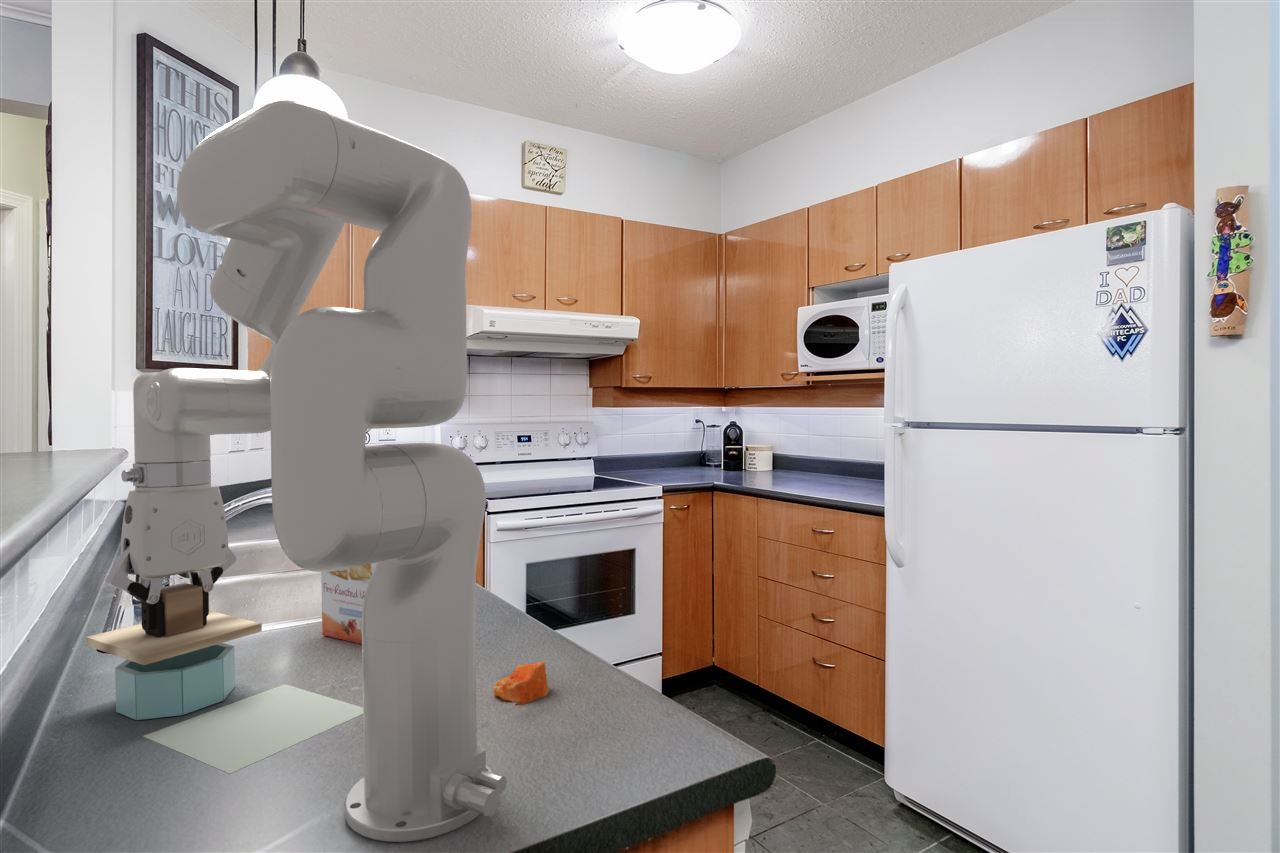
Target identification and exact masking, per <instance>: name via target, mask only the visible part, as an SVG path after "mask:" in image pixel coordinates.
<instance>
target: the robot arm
mask: <svg viewBox="0 0 1280 853" xmlns="http://www.w3.org/2000/svg"><path fill="white" fill-rule="evenodd" d="M470 195H471V194H470V191H469V189H468V185H467V183H466V181H465V179H464V178H463V176H462V173H460V172H459V170H458V169H457V168H456V167H455V166H453V164H451V163H450V162H449V161H447V160H445V159H444V158H442V157H440V156H438V155H437V154H434V153H432V152H429V151H427V150H425V149H423V148H420V147H419V146H416V145H414V144H412V143H408V142H407V141H404V140H401V139H399V138H396V137H394V136H392V135H389V134H387V133H384V132H382V131H379V130H377V129H374V128H372V127H369V126H366V125H363V124H360V123H358V122H356V121H354V120H351V119H348V118H346V117H344V116H341V115H338V114H337V113H334V112H331V111H329V110H326V109H324V108H322V107H319V106H317V105H313V104H311V103H307V102H305V101H301V100H298V99H295V98H294V99H292V98H277V99H271V100H268V101H266V102H264V103H263V102H262V103H261V104H258V105H257V106H255V107H254V108H252V109H250V110H248V111H247V112H245V113H243V114H241V115H239V116H238V117H236V118H235V119H233V120H231V121H230V122H227V123H225V124H224V125H222V126H220V127H219V128H217V129H215V130H214V131H213V132H211V133H210V134H209V135H207V136H206V137H205V138H204V139H202V140H201V141H200V142H199V143H198V144H197V145H196V147H194V149H192V151H191V152H190V154H189V155H188V156H187V158H186V160H185V162H184V164H183V166H182V168H181V171H180V174H179V176H178V181H177V187H176V198H177V204H178V205H177V206H178V209H179V211H180V214H181V216H182V217H183V219H184V221H186V223H187V224H189V225H190V226H191V227H193V229H195V230H197V231H199V232H202V233H204V234H209V235H213V236H217V237H223V238H226V239H229V241H228V244H227V245H226V248H225V251H224V252H223V254H222V257H221V259H220V261H219V263H218V264H219V265H218V266H217V268H216V271H215V273H214V275H213V276H212V279H211V281H210V286H209V292H210V294H211V298H212V300H213V302H214V303H215V304H216V305H217V307H218V308H219V309H220V310H221V311H222V312H223V313H225V314H226V315H227V316H228V317H230V318H231V319H232V320H233V321H235V322H237V323H238V324H240V325H241V326H244V327H245V328H247V329H249V330H251V331H253V332H254V333H256V334H258V335H260V336H262V337H264V338H266V339H268V340H269V341H271V346H270V349H269V351H268V353H267V355H266V356H265V357H266V358H265V359H264V361H263V363H262V365H261V366H260V367H259V369H258V370H245V369H244V370H242V369H225V368H224V369H222V368H221V369H220V368H196V367H174V368H173V367H172V368H168V369H164V370H162V371H160V372H146V373H143V374H139V375H138V376H137V377H136V378H135V380H134V382H133V388H132V390H133V392H132V393H133V396H132V397H133V440H134V441H133V442H134V443H133V444H134V447H133V448H134V463H132V468H130V469H124V470H122V471H121V480H122V481H123V482H124V483H128V482H130V483H132V487H133V486H134V489H133V490H129V492H128V495H127V499H126V503H125V507H124V513H123V518H122V526H121V536H120V557H119V558H118V559H117V562H116V563H115V565H114V566H113V567H112V569H111V570H110V571H109V574H108V575H107V576H106V577H105V581H104V582H105V584H106V585H108V586H110V587H114V588H117V589H119V590H122V591H125V592H126V593H128V594H129V595H130V596H132V597H134V598H135V599H136V601H139V602H140V608H141V609H140V610H141V624H142V628H143V630H145V633H146V634H148V635H151V636H155V637H162V636H164V634H165V619H164V603H163V602H160V592H161V587H163V582H164V581H163V580H164V578H166V577H171V576H176V575H181V574H187V573H188V578H189V584H192V585H197V586H201V587H202V592H203V626H204V625H206V624H207V616H208V614H209V611H210V596H209V595H210V594H209V593H210V592H211V591H213V589H214V585H215V583H216V582H217V581H218V580H219V579H220V577H221V576H222V575H223V574H224V572H225V571H227V570H228V569H229V568H230V567H232V566H233V565H234V564H235V563H236V562H237V557H236V556H235V554H234V553H233V551H232V550H231V549H230V548H229V535H228V526H227V516H226V511H225V506H224V501H223V498H222V493H221V489H220V487H219V485H217V484H212V469H211V468H212V466H211V465H212V464H211V463H212V462H211V455H212V454H211V436H215V435H242V434H243V435H246V434H262V433H263V434H265V433H267V432H270V460H271V461H270V462H271V463H270V464H271V465H270V466H271V469H270V470H271V478H270V479H271V502H272V503H271V504H272V505H271V506H272V507H271V508H272V518H273V523H274V524H273V525H274V530H275V533H276V536H277V540H278V543H279V545H280V547H281V550H283V552H284V554H285V556H286V557H287V558H288V559H289V560H290V561H291V562H292V563H293V564H295V565H296V566H298V567H299V568H301V569H303V570H306V571H310V572H313V573H314V572H316V573H321V572H332V571H338V570H344V569H349V568H353V567H358V566H362V565H366V564H371V563H375V562H378V563H377V565H376V567H375V569H374V571H373V574H372V576H371V578H370V581H369V584H368V586H367V589H366V593H365V597H364V602H363V609H362V644H361V653H362V654H361V657H362V658H361V659H362V660H361V661H362V662H361V666H362V668H361V669H362V674H361V675H362V707H363V714H362V721H363V722H362V723H363V724H362V725H363V731H362V732H363V733H362V734H363V736H362V738H363V777H362V778H361V779H359V780H357V782H356V783H355V784H354V785H353V786H352V787H351V789H349V792H348V793H347V795H346V797H345V801H344V818H345V820H346V822H347V825H348V826H349V827H350V828H351V829H352V831H354V832H356V833H357V834H359V835H361V836H363V837H365V838H368V839H371V840H374V841H381V842H390V843H391V842H396V843H397V842H398V843H403V842H414V841H419V840H420V841H421V840H425V839H430V838H435V837H437V836H440V835H444V834H448V833H450V832H452V831H454V830H456V829H457V830H458V829H459V828H462V827H463V826H465V825H466V824H468V823H470V822H472V821H473V820H475V819H476V818H477V817H478V816H479V815H483V816H484V817H485V816H486V817H491V816H493V815H494V814H495V813H496V811H497V810H498V808H499V805H500V800H501V796H500V794H502V793H503V792H504V791H505V790H506V787H507V783H508V782H507V777H506V776H505V775H501V774H498V773H496V772H494V771H493V770H492V768H490V766H489V765H488V764H487V762H486V761H487V760H486V757H487V756H486V755H487V754H486V751H487V749H486V748H483V747H481V746H477V744H478V743H477V739H478V738H477V736H478V735H477V732H478V730H477V673H476V672H477V668H476V665H477V663H476V660H477V659H476V658H477V656H476V653H477V652H476V619H477V618H476V617H477V616H476V615H477V614H476V584H477V583H476V582H477V580H476V579H477V578H476V577H477V564H478V553H479V547H480V546H479V545H480V541H481V535H482V531H483V525H484V521H485V520H484V519H485V513H486V501H487V500H486V499H487V498H486V497H487V496H486V495H487V493H486V487H485V481H484V477H483V476H482V473H481V470H480V469H479V467H478V465H477V464H476V463H475V462H474V460H473V459H472V458H471V457H470V456H469V455H467V454H466V453H465V452H463V451H462V450H460V449H458V448H456V447H454V446H450V445H446V444H442V443H435V442H409V443H407V442H406V443H389V444H387V443H386V444H379V445H378V444H377V445H366V439H367V429H368V430H370V429H373V430H374V429H378V430H379V429H404V428H405V429H406V428H422V427H423V428H424V427H429V426H437V425H440V424H443V423H447V422H448V421H450V420H452V419H453V418H454V417H455V416H457V414H459V411H460V410H461V409H462V407H463V404H464V401H465V399H466V398H465V397H466V394H467V393H466V390H467V381H468V380H467V378H468V356H467V355H468V354H467V353H468V350H467V349H468V348H467V347H468V346H467V345H468V344H467V343H468V342H467V338H468V337H467V329H468V328H467V292H466V291H467V290H466V289H467V288H466V274H467V272H466V269H467V268H466V266H467V258H468V250H469V244H470V236H471V229H472V216H473V215H472V200H471V196H470ZM345 224H349V225H353V226H354V225H355V226H358V227H361V228H362V227H363V228H364V229H365V228H366V229H369V230H374V231H378V232H380V234H379V235H378V237H377V238H376V239H375V241H374V243H373V244H372V245H371V248H370V249H369V252H368V253H367V257H366V259H365V262H364V265H363V277H362V278H363V310H361V309H357V308H348V307H341V306H320V307H315V308H311V309H308V310H305V311H303V312H302V313H300V312H301V310H302V308H303V307H304V304H305V303H306V301H307V299H308V297H309V294H311V291H312V289H313V288H314V286H315V284H316V282H317V280H318V278H319V277H320V276H319V275H320V273H321V271H323V269H324V266H325V264H326V263H327V261H328V259H329V257H330V255H331V252H332V251H333V249H334V247H335V245H336V243H337V241H338V240H339V238H340V235H341V233H342V231H343V229H344V226H345ZM129 575H130V576H133V575H134V576H135V575H139V577H138V581H134V580H132V579H130V578H129Z"/></svg>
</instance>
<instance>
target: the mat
mask: <svg viewBox="0 0 1280 853" xmlns="http://www.w3.org/2000/svg"><path fill="white" fill-rule="evenodd" d="M360 716H363V706H359V705H356V704H353V703H352V704H351V703H349V702H345V701H342V700H340V699H335V698H332V697H329V696H325V695H323V694H318V693H315V692H312V691H309V690H305V689H302V688H299V687H295V686H293V685H290V684H289V685H288V684H285V683H283V684H281V685H279V686H276V687H273V688H270V689H268V690H265V691H262V692H259V693H257V694H253V695H252V696H248V697H246V698H243V699H240V700H238V701H234V702H231V703H229V704H227V705H224V706H221V707H219V708H216V709H212V710H210V711H208V712H205V713H202V714H199V715H197V716H194V717H191V718H188V719H185V720H184V721H180V722H177V723H175V724H172V725H169V726H166V727H164V728H161V729H158V730H155V731H153V732H150V733H147V734H143V735H142V737H143V738H146V739H148V740H150V741H153V742H155V743H156V744H159V745H162V746H163V747H166V748H169V749H171V750H172V751H173V750H174V751H176V752H177V753H180V754H183V755H185V756H188V757H190V758H192V759H193V760H196V761H199V762H201V763H203V764H206V765H208V766H211V767H213V768H214V769H217V770H219V771H222V772H223V773H227V774H229V775H231V774H233V773H236V772H238V771H240V770H242V769H244V768H247V767H250V766H252V765H253V764H255V763H258V762H260V761H262V760H264V759H267V758H268V757H271V756H273V755H276V754H278V753H280V752H283V751H284V750H287V749H289V748H291V747H293V746H295V745H298V744H300V743H302V742H305V741H306V740H308V739H310V738H313V737H315V736H317V735H318V736H319V735H320V734H322V733H324V732H327V731H329V730H331V729H333V728H335V727H337V726H339V725H341V724H344V723H346V722H348V721H349V722H350V720H353V719H355V718H357V717H360Z"/></svg>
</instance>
